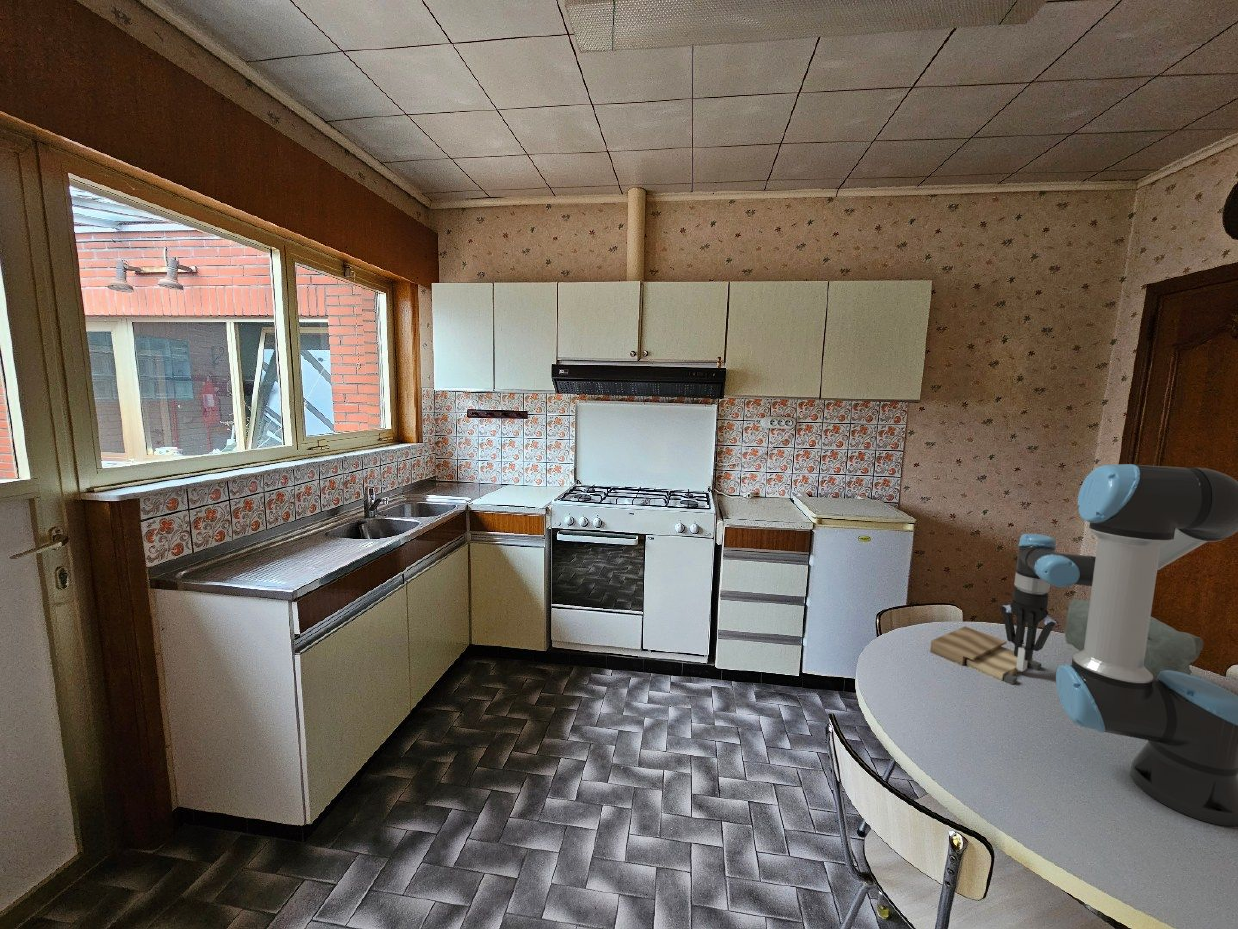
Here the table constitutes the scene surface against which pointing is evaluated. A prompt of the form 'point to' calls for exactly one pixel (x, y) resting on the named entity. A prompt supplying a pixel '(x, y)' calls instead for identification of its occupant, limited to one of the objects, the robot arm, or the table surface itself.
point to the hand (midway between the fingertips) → (1021, 669)
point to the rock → (1161, 648)
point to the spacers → (1013, 679)
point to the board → (964, 645)
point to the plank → (996, 663)
